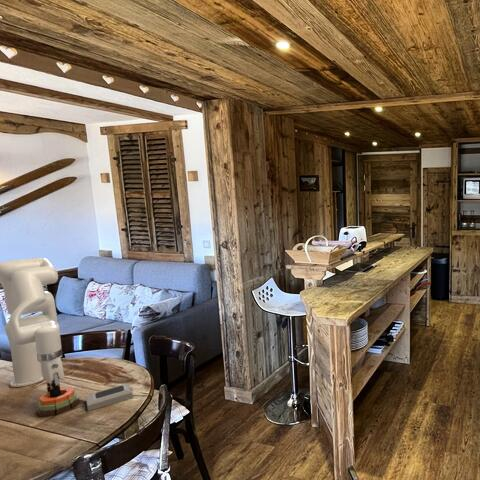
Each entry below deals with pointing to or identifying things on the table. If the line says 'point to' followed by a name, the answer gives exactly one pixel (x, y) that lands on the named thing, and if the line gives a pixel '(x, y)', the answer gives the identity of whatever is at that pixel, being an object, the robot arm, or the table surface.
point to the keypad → (108, 396)
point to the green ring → (57, 406)
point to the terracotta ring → (47, 400)
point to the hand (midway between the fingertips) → (54, 395)
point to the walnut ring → (58, 411)
